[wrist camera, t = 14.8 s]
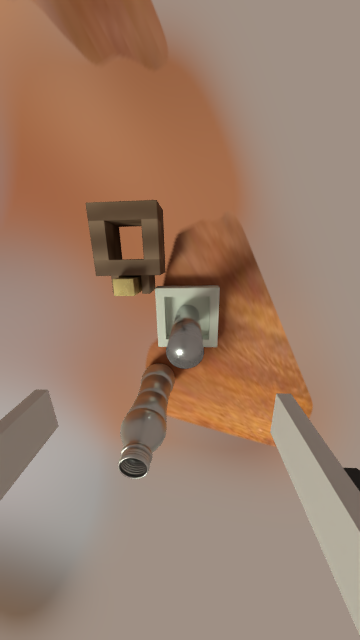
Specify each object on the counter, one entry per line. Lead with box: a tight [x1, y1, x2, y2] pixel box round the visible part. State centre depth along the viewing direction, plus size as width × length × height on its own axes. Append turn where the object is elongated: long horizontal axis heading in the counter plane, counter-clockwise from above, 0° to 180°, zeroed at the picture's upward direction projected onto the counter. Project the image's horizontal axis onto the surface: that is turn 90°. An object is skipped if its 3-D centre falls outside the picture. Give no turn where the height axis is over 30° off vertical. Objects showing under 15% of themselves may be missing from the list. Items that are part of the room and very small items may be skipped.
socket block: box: [86, 200, 165, 294], centre depth 32 cm, size 13×10×6 cm
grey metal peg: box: [166, 305, 204, 369], centre depth 30 cm, size 4×4×15 cm
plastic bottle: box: [118, 363, 175, 479], centre depth 32 cm, size 6×7×20 cm
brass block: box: [112, 275, 142, 296], centre depth 32 cm, size 2×3×8 cm
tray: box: [155, 285, 220, 347], centre depth 36 cm, size 11×11×3 cm
